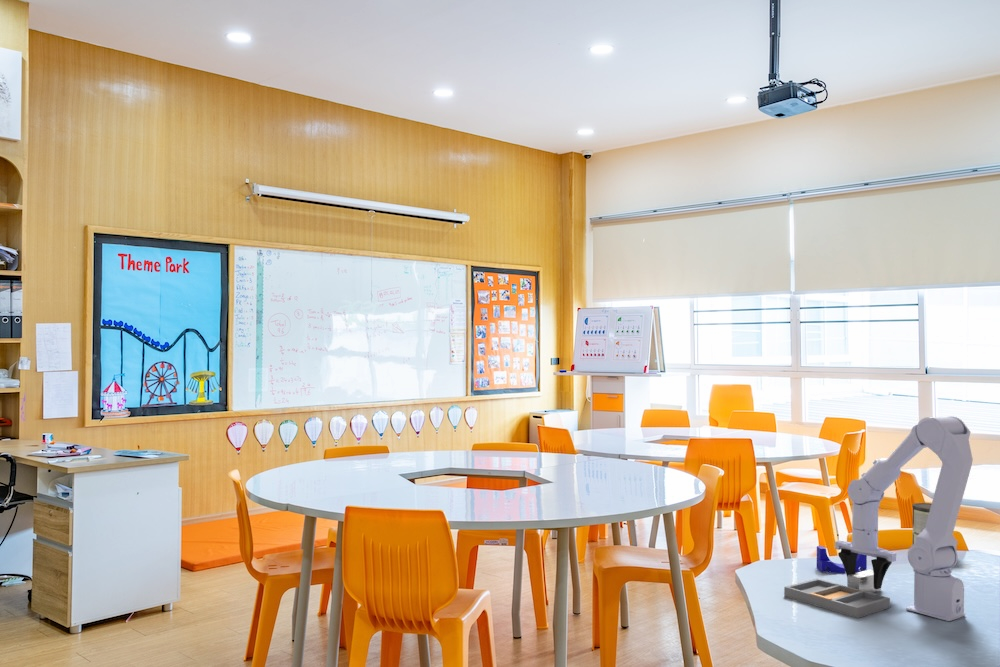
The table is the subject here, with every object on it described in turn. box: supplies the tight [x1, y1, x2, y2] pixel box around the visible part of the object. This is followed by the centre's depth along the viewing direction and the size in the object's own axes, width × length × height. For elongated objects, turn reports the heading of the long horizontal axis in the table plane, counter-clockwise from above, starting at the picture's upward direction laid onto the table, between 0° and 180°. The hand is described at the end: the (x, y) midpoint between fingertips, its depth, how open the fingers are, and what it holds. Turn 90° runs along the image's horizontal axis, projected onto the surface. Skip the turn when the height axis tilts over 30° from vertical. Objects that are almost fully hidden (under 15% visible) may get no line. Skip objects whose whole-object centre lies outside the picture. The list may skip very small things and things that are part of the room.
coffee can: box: [912, 502, 932, 545], centre depth 233 cm, size 10×10×14 cm
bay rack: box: [783, 578, 891, 619], centre depth 183 cm, size 18×14×2 cm
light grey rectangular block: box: [846, 568, 882, 594], centre depth 193 cm, size 3×10×4 cm, turn 126°
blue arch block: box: [816, 545, 868, 574], centre depth 211 cm, size 12×4×6 cm, turn 85°
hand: (864, 584), depth 193 cm, fingers open, 6 cm apart
